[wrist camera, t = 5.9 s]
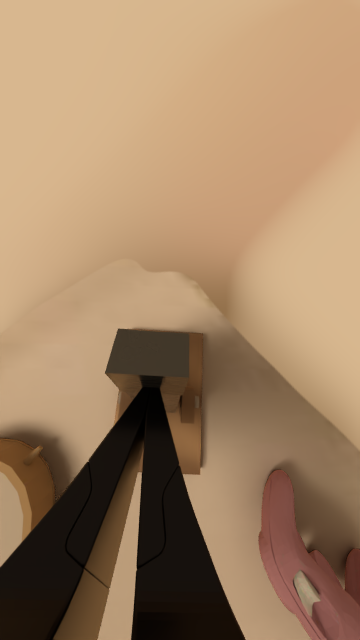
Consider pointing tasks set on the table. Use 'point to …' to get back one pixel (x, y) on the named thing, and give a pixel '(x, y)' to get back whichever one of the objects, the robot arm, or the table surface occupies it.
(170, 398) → the lever
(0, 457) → the alarm clock
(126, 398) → the base
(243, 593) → the table surface
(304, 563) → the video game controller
